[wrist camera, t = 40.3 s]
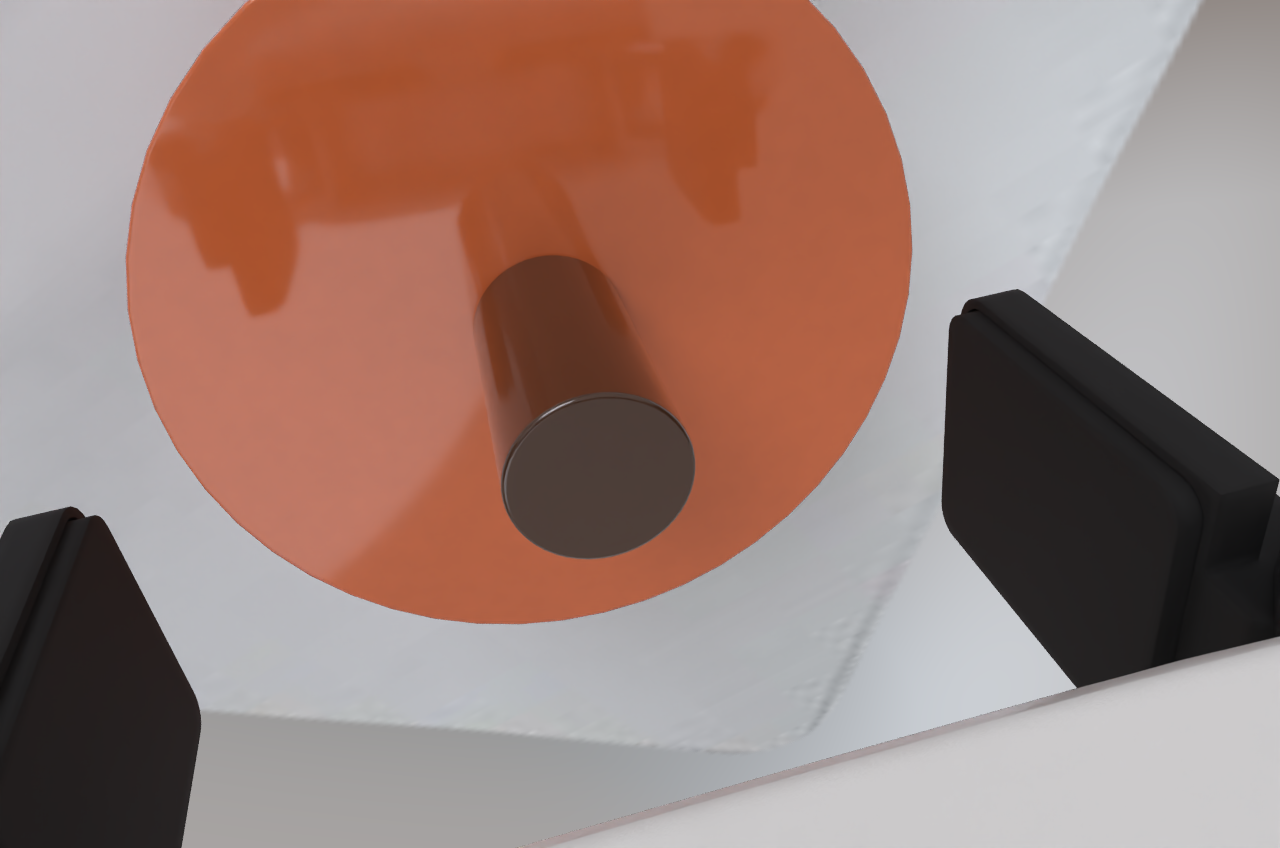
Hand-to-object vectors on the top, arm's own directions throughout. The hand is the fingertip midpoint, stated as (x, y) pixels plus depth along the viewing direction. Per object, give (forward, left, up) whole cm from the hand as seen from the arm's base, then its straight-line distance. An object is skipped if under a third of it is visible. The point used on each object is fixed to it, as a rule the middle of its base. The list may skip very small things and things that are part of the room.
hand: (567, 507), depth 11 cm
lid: (0, 0, -6) cm, 6 cm away
